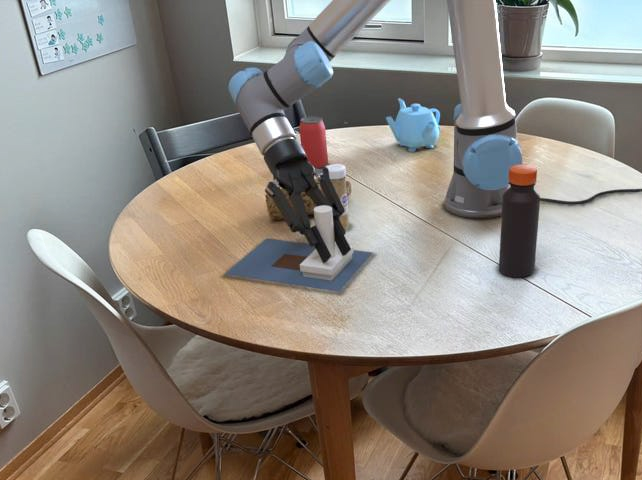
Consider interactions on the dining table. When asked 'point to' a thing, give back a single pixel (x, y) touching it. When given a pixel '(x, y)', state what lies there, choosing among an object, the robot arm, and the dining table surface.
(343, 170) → the sprinkles bottle
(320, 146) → the beer can
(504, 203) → the vinegar
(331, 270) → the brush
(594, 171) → the dining table surface
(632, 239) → the dining table surface
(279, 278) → the mat
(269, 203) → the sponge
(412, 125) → the teapot
